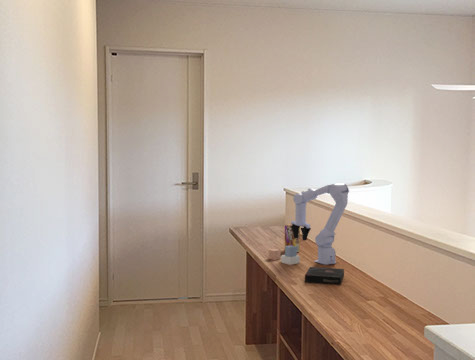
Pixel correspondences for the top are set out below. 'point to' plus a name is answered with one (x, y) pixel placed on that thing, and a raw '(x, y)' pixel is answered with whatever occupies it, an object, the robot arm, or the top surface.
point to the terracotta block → (274, 254)
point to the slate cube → (290, 251)
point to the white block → (290, 259)
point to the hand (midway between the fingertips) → (300, 239)
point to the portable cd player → (324, 275)
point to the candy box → (291, 238)
